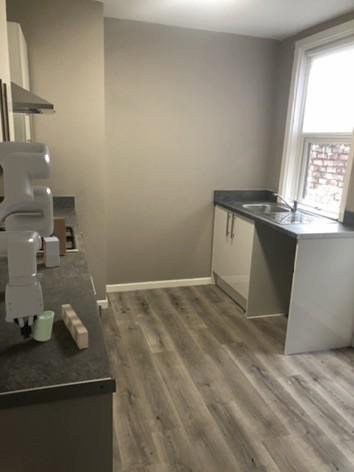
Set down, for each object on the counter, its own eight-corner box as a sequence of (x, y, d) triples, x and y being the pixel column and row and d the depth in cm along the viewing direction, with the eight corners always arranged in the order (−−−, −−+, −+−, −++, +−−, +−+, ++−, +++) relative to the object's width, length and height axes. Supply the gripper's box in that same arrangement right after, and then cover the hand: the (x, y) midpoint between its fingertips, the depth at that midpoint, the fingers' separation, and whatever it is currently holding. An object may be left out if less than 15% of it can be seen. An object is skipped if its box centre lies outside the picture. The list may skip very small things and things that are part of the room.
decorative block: (44, 257, 197) (43, 219, 192) (43, 254, 202) (42, 217, 197) (66, 255, 202) (65, 218, 197) (65, 252, 207) (64, 216, 202)
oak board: (62, 318, 131) (61, 305, 130) (69, 317, 132) (69, 303, 131) (79, 349, 113) (79, 333, 111) (88, 347, 114) (88, 332, 113)
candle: (34, 341, 114) (37, 316, 113) (32, 333, 119) (36, 309, 117) (51, 341, 116) (55, 316, 115) (49, 333, 121) (52, 309, 119)
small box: (43, 262, 188) (42, 237, 185) (57, 261, 191) (56, 236, 188) (46, 267, 181) (45, 241, 178) (60, 266, 184) (59, 240, 181)
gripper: (47, 272, 117) (49, 326, 121) (-7, 278, 110) (-3, 336, 114) (52, 279, 111) (54, 337, 115) (-5, 286, 104) (0, 347, 108)
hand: (26, 336), depth 115 cm, fingers closed
